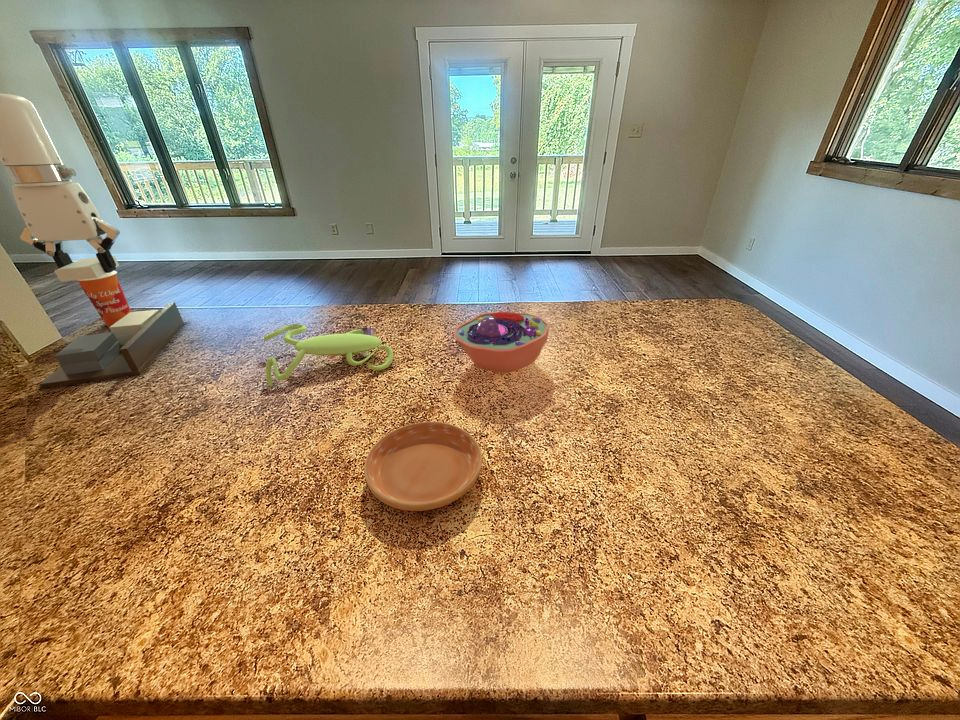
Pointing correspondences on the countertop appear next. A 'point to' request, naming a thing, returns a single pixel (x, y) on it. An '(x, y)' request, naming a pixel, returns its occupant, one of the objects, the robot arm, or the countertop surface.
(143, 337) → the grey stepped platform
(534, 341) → the cell model
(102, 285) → the paper cup
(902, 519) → the countertop surface
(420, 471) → the saucer
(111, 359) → the grey stack
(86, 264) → the cream flat block
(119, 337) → the white stack
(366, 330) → the figurine
